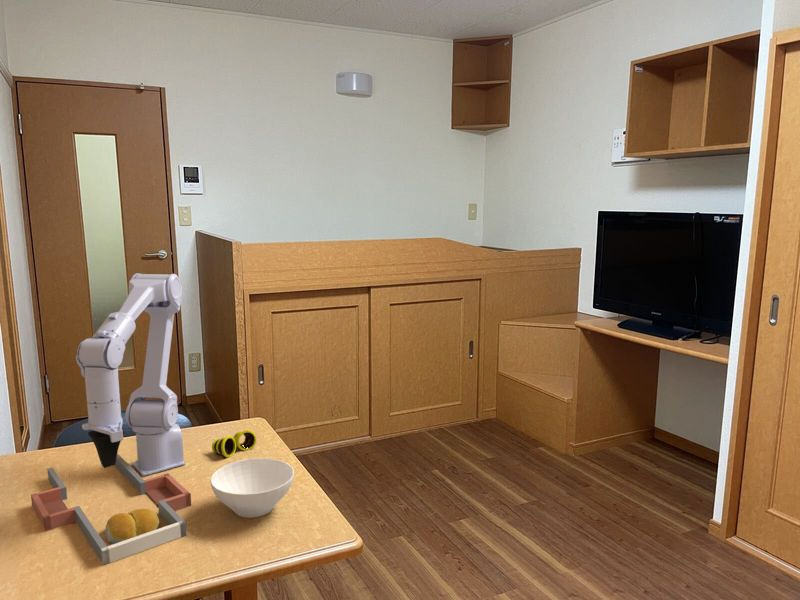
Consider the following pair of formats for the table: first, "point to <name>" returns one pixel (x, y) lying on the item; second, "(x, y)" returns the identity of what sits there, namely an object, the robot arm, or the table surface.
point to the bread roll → (130, 525)
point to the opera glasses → (234, 443)
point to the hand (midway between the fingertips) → (108, 465)
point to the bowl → (252, 485)
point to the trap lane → (57, 515)
